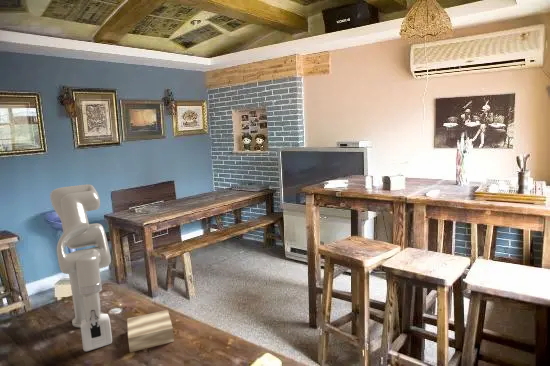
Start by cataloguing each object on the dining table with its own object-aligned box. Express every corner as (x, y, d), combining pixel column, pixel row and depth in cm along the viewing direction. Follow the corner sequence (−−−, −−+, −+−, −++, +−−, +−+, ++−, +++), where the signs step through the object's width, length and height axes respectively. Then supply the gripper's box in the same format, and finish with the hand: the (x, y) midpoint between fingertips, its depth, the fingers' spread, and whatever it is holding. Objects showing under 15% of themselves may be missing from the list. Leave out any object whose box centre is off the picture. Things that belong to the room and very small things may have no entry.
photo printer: (111, 338, 151) (107, 309, 149) (113, 343, 148) (109, 313, 146) (82, 348, 146) (78, 317, 144) (84, 353, 142) (79, 322, 140)
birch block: (128, 332, 156) (127, 318, 155) (169, 322, 162) (167, 309, 161) (129, 353, 141) (128, 338, 140) (174, 342, 147) (172, 327, 146)
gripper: (80, 282, 149) (86, 323, 151) (78, 298, 133) (84, 344, 136) (101, 278, 152) (107, 318, 154) (101, 293, 136) (107, 338, 139)
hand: (96, 330), depth 145 cm, fingers open, 9 cm apart
